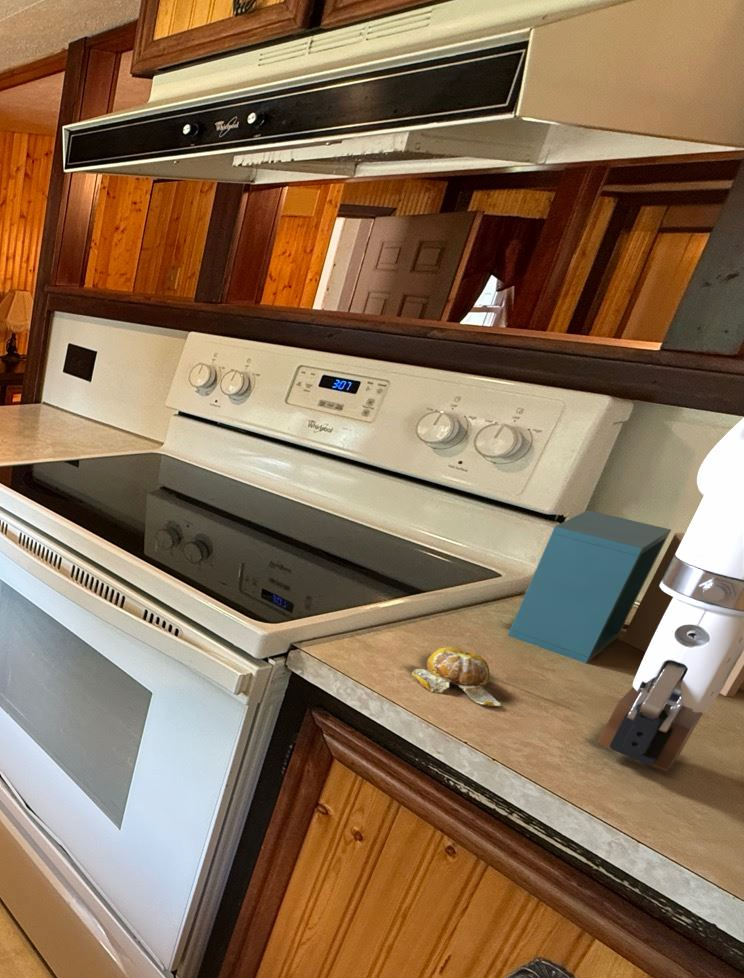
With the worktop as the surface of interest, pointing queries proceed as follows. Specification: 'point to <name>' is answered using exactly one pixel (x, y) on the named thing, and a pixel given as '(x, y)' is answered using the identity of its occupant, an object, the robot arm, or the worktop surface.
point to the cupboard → (587, 584)
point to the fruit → (457, 674)
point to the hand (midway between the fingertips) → (640, 744)
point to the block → (679, 728)
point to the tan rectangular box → (654, 611)
